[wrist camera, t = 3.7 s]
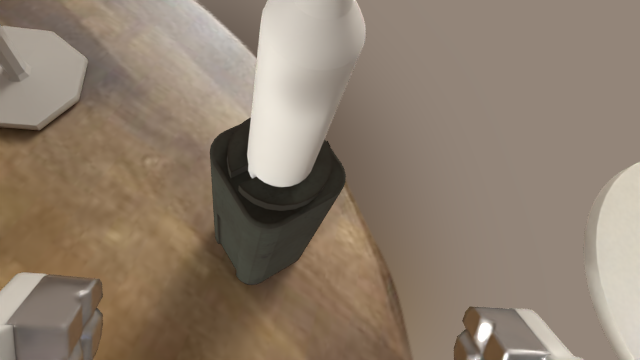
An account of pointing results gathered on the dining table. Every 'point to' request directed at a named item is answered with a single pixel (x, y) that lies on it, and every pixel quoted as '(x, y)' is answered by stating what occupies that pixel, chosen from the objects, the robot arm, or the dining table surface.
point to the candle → (285, 137)
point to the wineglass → (37, 77)
